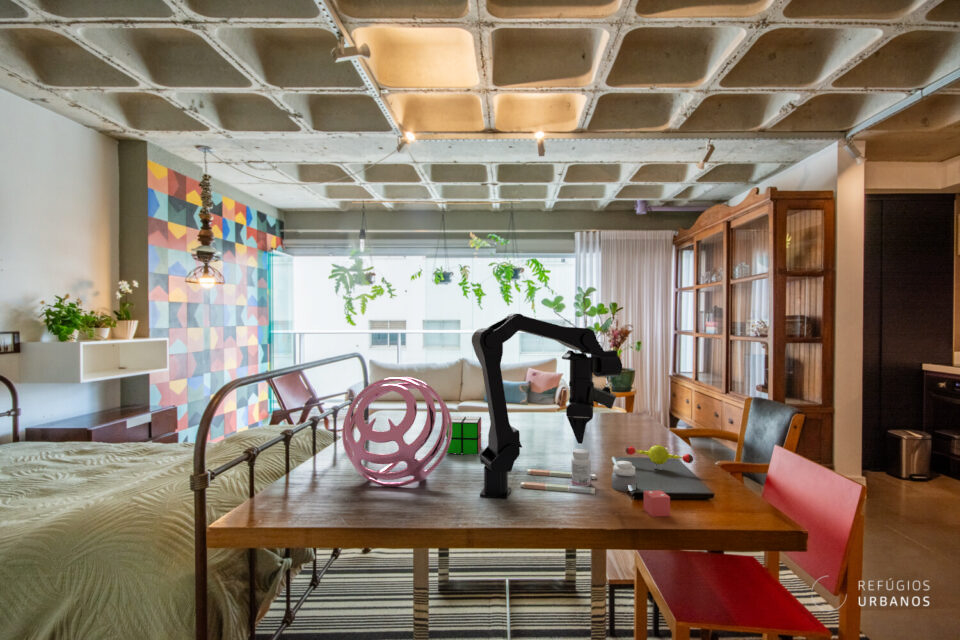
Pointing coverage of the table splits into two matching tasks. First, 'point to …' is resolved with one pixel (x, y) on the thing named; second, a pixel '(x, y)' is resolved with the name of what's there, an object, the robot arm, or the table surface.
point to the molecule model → (659, 454)
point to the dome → (624, 468)
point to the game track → (617, 483)
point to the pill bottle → (581, 468)
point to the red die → (656, 503)
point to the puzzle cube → (465, 435)
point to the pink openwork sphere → (395, 433)
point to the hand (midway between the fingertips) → (580, 439)
